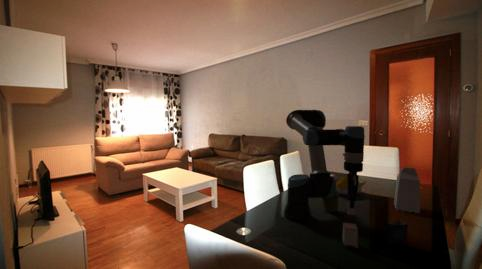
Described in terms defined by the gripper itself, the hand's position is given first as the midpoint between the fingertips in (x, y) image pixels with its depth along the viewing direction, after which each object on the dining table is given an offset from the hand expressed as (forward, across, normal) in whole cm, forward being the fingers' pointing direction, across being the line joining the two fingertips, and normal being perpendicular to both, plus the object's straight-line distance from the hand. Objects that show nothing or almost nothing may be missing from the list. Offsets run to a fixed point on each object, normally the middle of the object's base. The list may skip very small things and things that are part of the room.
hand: (351, 214), depth 104 cm
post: (+14, 0, 0) cm, 14 cm away
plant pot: (+14, -38, -5) cm, 40 cm away
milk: (+14, -55, +40) cm, 70 cm away
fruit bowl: (+14, -77, +7) cm, 78 cm away
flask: (+14, -9, +21) cm, 27 cm away
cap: (+13, 0, 0) cm, 13 cm away
